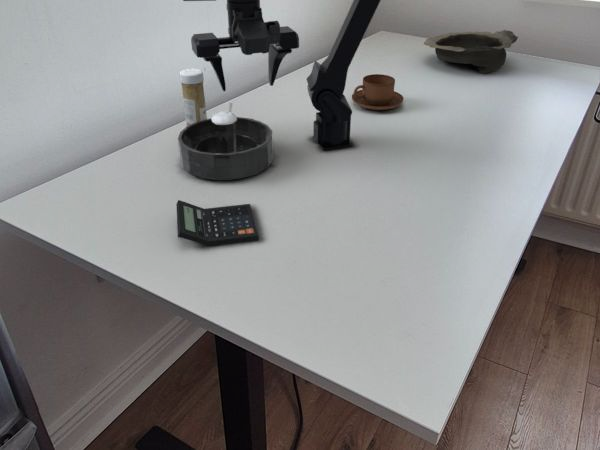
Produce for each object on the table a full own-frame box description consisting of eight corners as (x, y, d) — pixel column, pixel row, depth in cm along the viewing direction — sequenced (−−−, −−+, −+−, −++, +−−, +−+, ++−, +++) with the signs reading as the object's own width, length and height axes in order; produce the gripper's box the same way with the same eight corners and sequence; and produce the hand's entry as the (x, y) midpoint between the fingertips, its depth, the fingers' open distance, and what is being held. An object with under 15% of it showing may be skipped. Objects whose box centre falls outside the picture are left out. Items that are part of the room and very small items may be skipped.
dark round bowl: (258, 137, 113) (257, 112, 110) (284, 173, 100) (284, 146, 97) (175, 149, 109) (171, 123, 106) (191, 189, 95) (187, 161, 92)
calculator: (258, 240, 82) (257, 223, 80) (179, 249, 80) (177, 232, 78) (250, 208, 90) (249, 192, 88) (178, 216, 88) (175, 200, 86)
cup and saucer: (378, 118, 122) (381, 91, 119) (340, 104, 129) (341, 78, 126) (413, 105, 129) (416, 79, 125) (375, 92, 136) (377, 67, 133)
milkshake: (245, 154, 105) (242, 104, 100) (232, 165, 101) (228, 114, 96) (224, 150, 107) (220, 101, 101) (210, 161, 103) (205, 111, 97)
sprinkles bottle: (212, 136, 114) (206, 72, 107) (192, 141, 112) (184, 76, 104) (203, 129, 117) (196, 66, 110) (183, 133, 115) (175, 70, 108)
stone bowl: (526, 77, 145) (532, 41, 140) (431, 84, 146) (433, 49, 141) (499, 50, 165) (503, 18, 160) (416, 56, 167) (417, 24, 162)
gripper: (198, 13, 86) (207, 108, 94) (310, 5, 91) (309, 96, 100) (186, 0, 95) (195, 88, 103) (288, -7, 100) (289, 77, 108)
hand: (247, 87), depth 103 cm, fingers open, 9 cm apart
